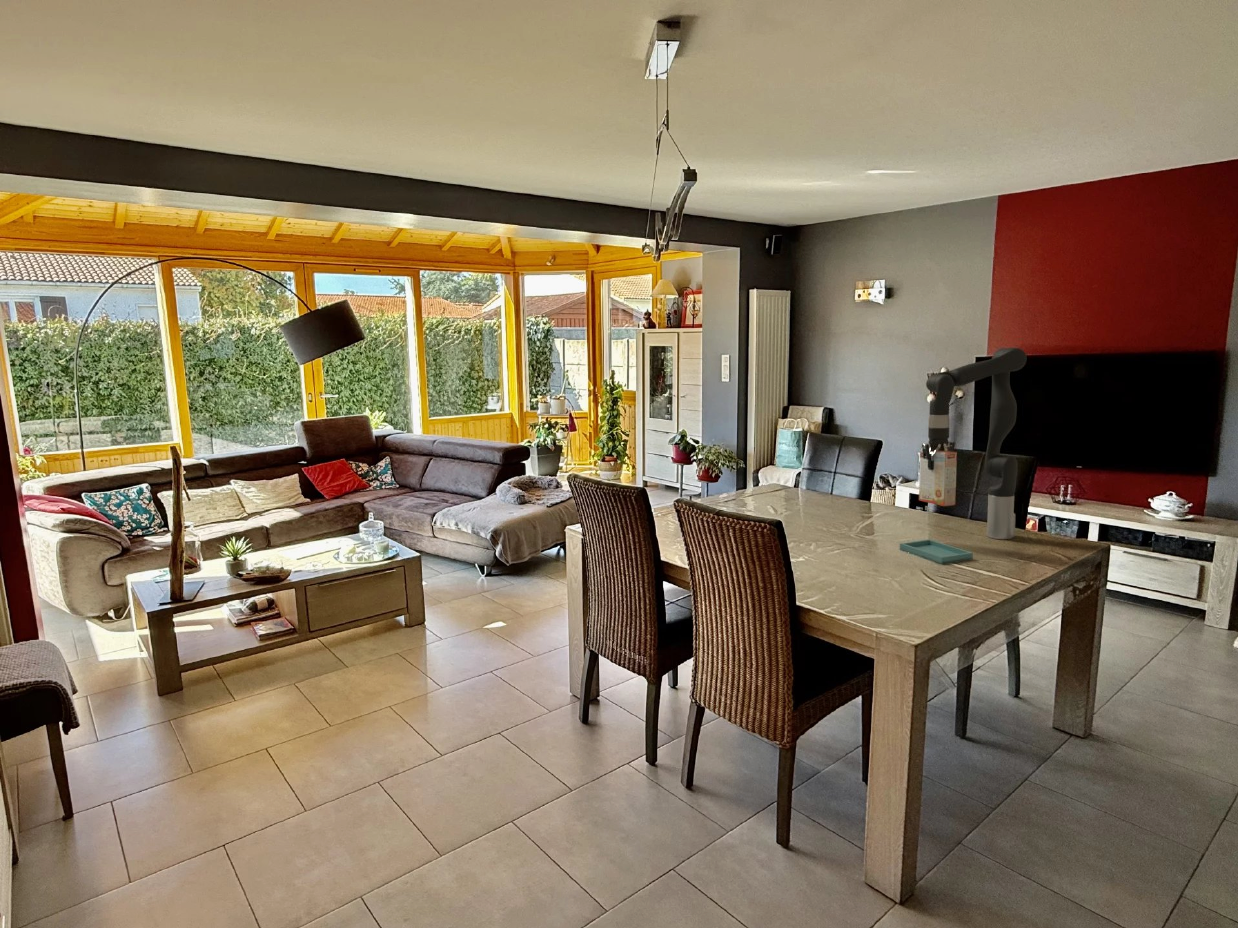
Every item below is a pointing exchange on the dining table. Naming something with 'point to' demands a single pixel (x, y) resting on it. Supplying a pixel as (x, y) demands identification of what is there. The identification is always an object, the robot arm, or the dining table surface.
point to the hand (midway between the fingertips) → (937, 468)
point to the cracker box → (938, 479)
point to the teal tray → (936, 551)
